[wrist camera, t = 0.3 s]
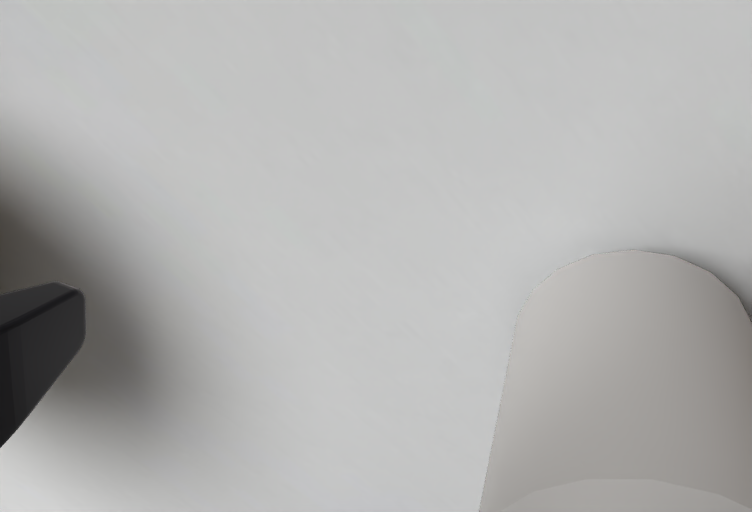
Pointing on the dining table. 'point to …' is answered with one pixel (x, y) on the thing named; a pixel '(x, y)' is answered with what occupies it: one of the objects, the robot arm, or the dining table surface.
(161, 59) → the dining table surface
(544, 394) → the can
